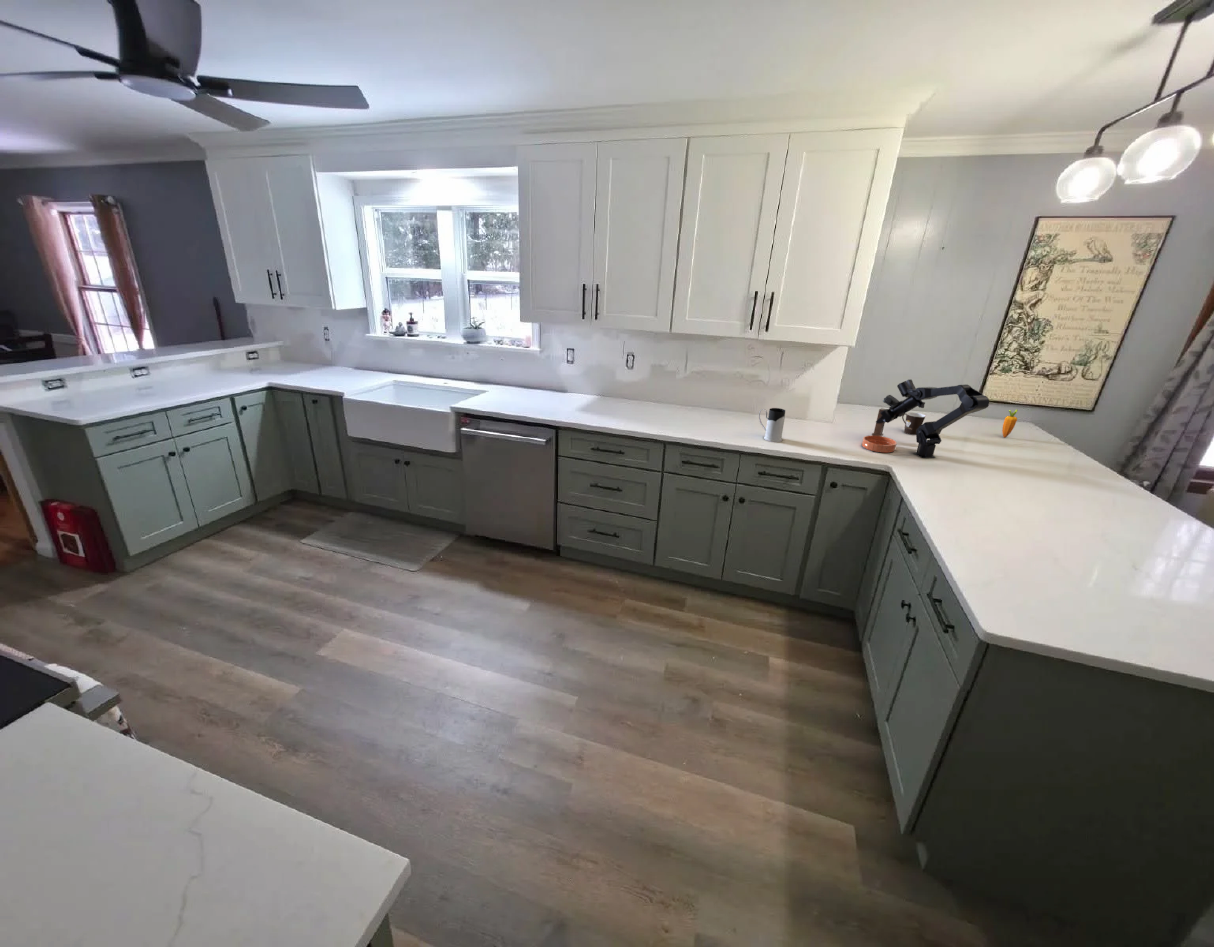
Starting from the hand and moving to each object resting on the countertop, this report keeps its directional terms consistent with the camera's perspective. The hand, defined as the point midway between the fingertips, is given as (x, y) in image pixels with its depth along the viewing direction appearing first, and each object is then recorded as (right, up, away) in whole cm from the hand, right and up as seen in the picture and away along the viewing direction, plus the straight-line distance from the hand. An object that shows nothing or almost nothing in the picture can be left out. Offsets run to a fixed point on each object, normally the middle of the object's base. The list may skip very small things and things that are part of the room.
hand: (877, 421), depth 246 cm
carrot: (+70, -7, +8) cm, 71 cm away
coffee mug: (+25, -4, +15) cm, 29 cm away
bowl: (-4, -13, -8) cm, 16 cm away
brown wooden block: (+1, -7, +2) cm, 7 cm away
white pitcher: (-53, -8, +4) cm, 54 cm away
